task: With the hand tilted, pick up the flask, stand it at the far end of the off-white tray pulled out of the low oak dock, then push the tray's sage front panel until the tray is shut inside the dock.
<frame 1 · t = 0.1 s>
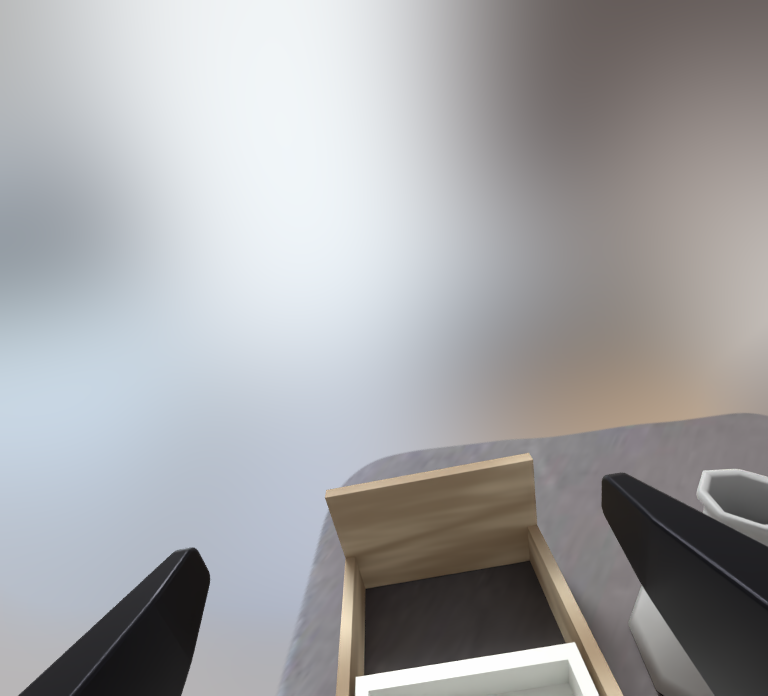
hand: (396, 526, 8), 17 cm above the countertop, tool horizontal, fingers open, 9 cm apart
flask: (716, 656, 18), on the countertop
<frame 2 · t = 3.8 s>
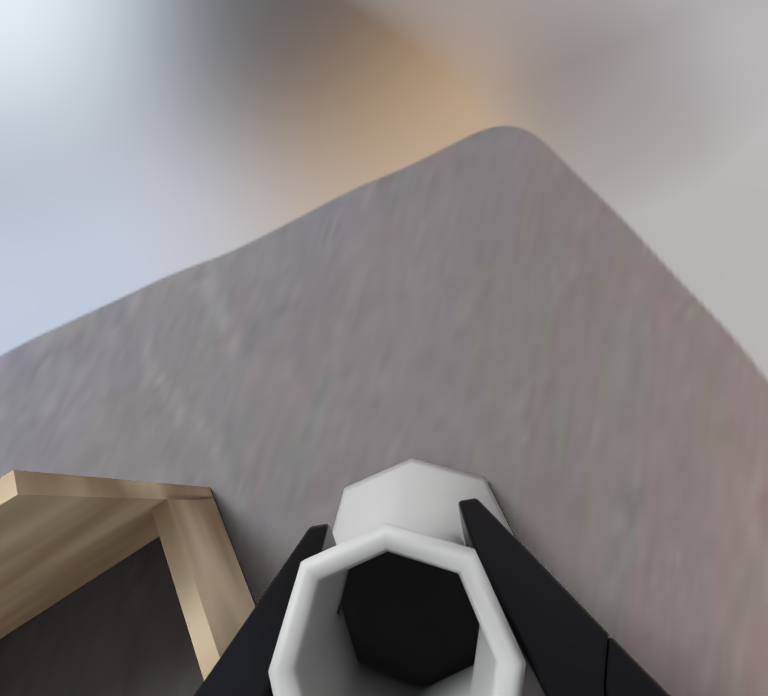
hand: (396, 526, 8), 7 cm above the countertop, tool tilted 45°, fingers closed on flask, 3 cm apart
flask: (421, 560, 14), on the countertop, touching gripper
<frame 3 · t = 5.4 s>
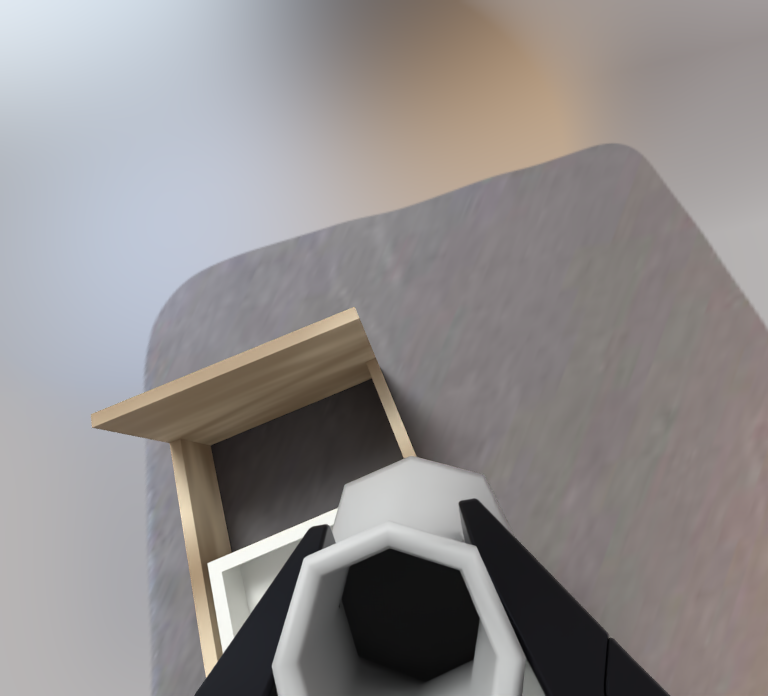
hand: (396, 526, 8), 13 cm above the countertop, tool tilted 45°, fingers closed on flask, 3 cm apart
flask: (420, 557, 14), point 6 cm above the countertop, touching gripper
dock: (328, 532, 20), on the countertop
when the fingers open (9 cm above the countertop, at t = 7.0 s): flask drops 1 cm, resting on tray.
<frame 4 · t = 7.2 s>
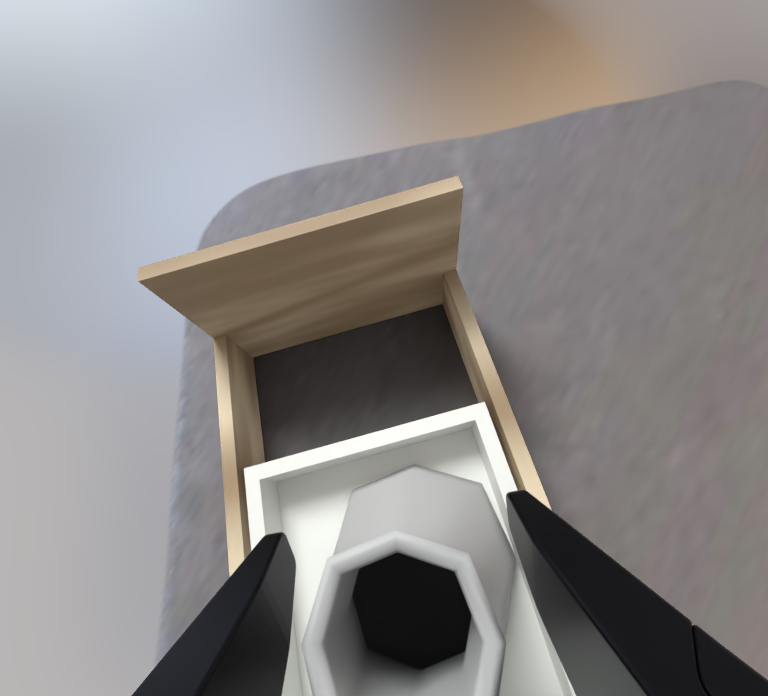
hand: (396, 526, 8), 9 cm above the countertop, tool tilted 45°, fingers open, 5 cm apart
tray: (412, 648, 13), point 3 cm above the countertop, slide at 6.0 cm, touching flask
flask: (421, 559, 15), point 1 cm above the countertop, touching tray
dock: (378, 462, 18), on the countertop
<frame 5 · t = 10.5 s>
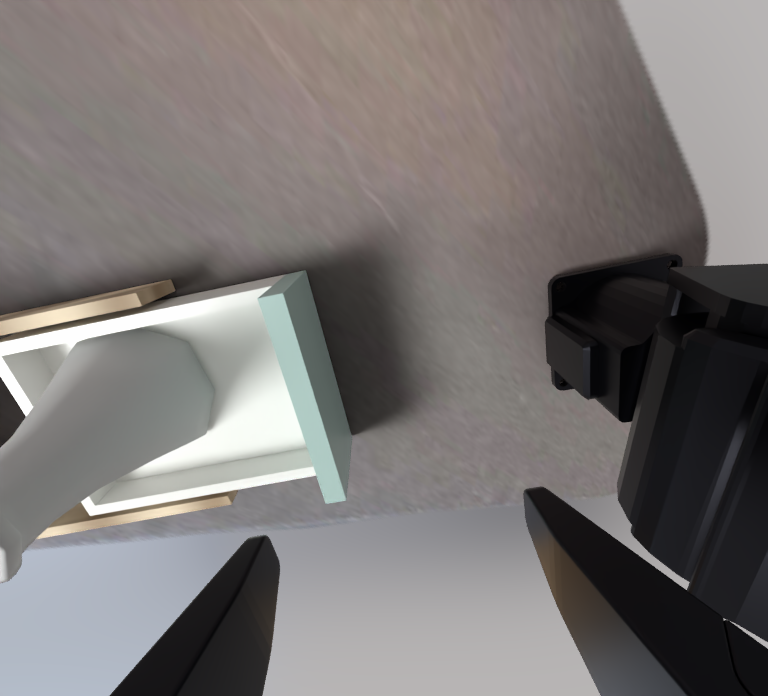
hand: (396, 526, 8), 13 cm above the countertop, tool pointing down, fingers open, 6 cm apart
tray: (182, 409, 19), point 3 cm above the countertop, slide at 6.0 cm, touching flask
flask: (150, 386, 20), point 1 cm above the countertop, touching tray
dock: (96, 406, 22), on the countertop
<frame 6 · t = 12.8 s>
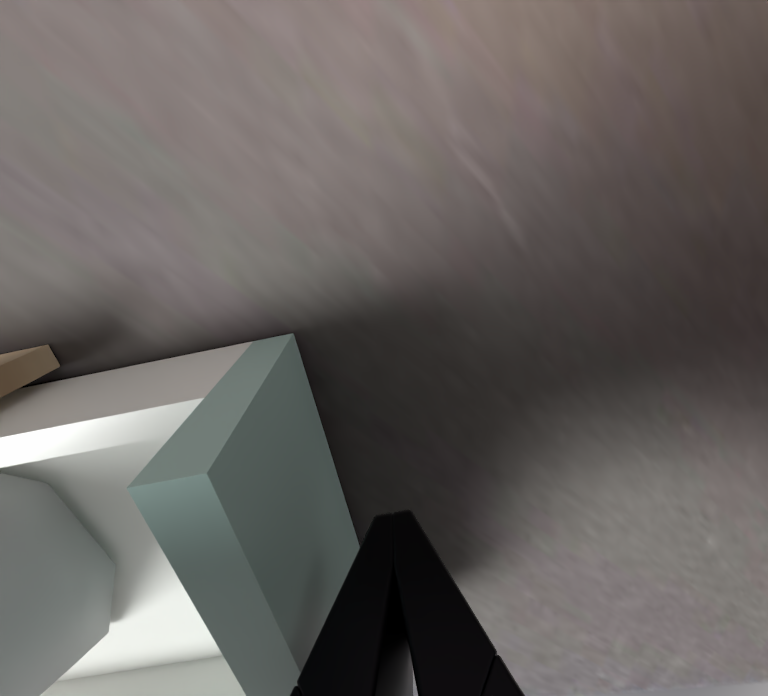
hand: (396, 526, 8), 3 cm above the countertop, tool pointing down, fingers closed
tray: (37, 625, 9), point 3 cm above the countertop, slide at 5.2 cm, touching gripper, flask
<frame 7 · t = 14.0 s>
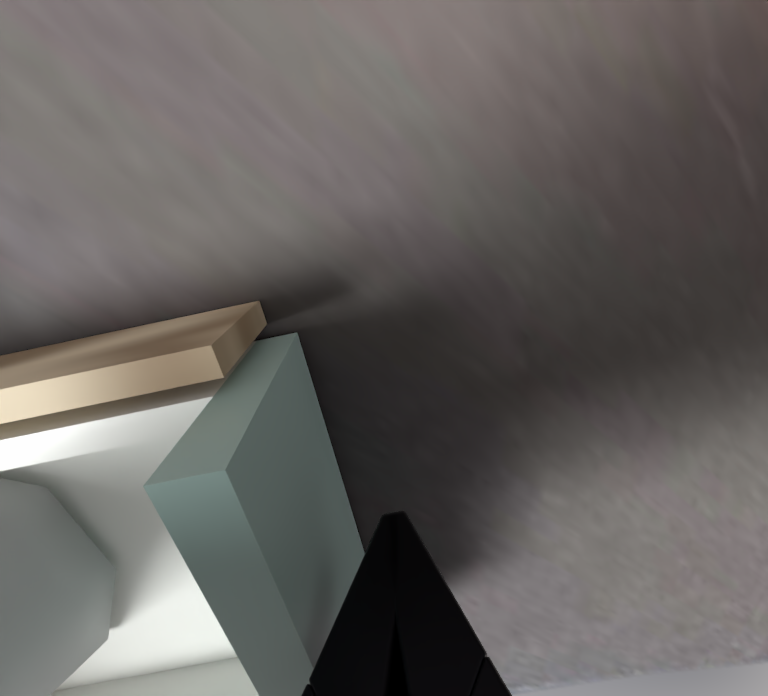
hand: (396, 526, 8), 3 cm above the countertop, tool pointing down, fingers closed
tray: (37, 632, 9), point 3 cm above the countertop, slide at -0.1 cm, touching gripper, flask
dock: (97, 539, 11), on the countertop
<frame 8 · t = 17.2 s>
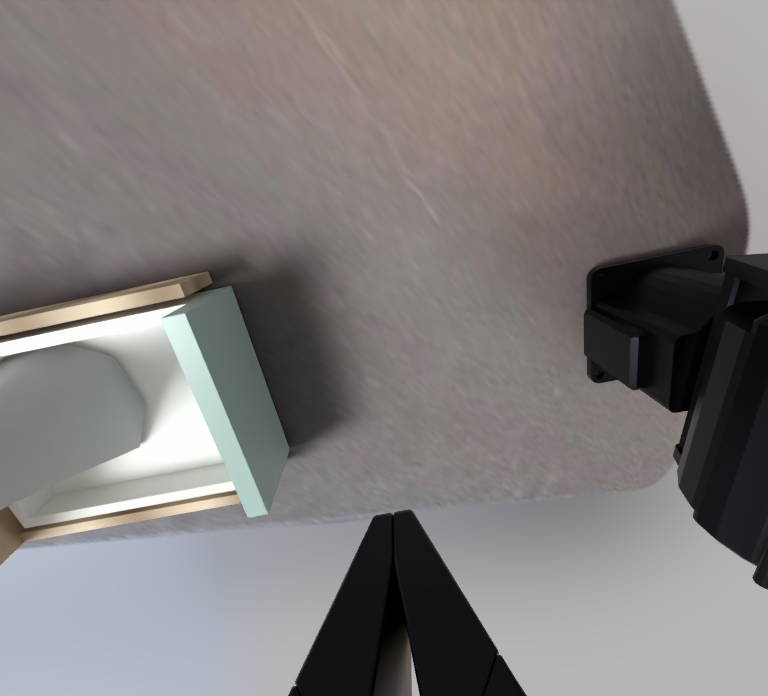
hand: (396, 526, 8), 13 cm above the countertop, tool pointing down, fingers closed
tray: (109, 424, 19), point 3 cm above the countertop, slide at 0.2 cm, touching flask
flask: (82, 400, 20), point 1 cm above the countertop, touching tray
dock: (129, 400, 21), on the countertop
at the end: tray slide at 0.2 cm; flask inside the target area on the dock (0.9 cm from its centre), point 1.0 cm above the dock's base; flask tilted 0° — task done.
